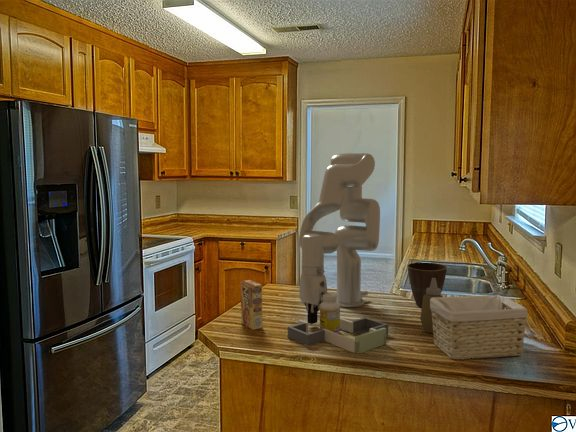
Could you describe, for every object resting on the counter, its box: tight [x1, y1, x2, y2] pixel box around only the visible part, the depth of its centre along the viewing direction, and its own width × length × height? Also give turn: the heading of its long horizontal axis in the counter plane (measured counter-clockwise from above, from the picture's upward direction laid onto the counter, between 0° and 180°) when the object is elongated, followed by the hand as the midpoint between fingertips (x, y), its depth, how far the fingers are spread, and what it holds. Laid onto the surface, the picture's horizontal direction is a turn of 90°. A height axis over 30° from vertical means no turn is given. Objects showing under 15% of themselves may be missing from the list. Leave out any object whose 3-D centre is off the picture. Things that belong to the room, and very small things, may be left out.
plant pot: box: [407, 262, 448, 309], centre depth 193 cm, size 15×15×16 cm
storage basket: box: [430, 294, 528, 360], centre depth 147 cm, size 24×16×15 cm
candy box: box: [239, 279, 264, 330], centre depth 170 cm, size 9×4×15 cm, turn 33°
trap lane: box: [287, 316, 389, 355], centre depth 159 cm, size 27×27×5 cm
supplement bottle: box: [319, 292, 341, 334], centre depth 162 cm, size 7×7×13 cm
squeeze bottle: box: [419, 278, 444, 334], centre depth 164 cm, size 8×8×18 cm
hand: (312, 322), depth 169 cm, fingers closed
